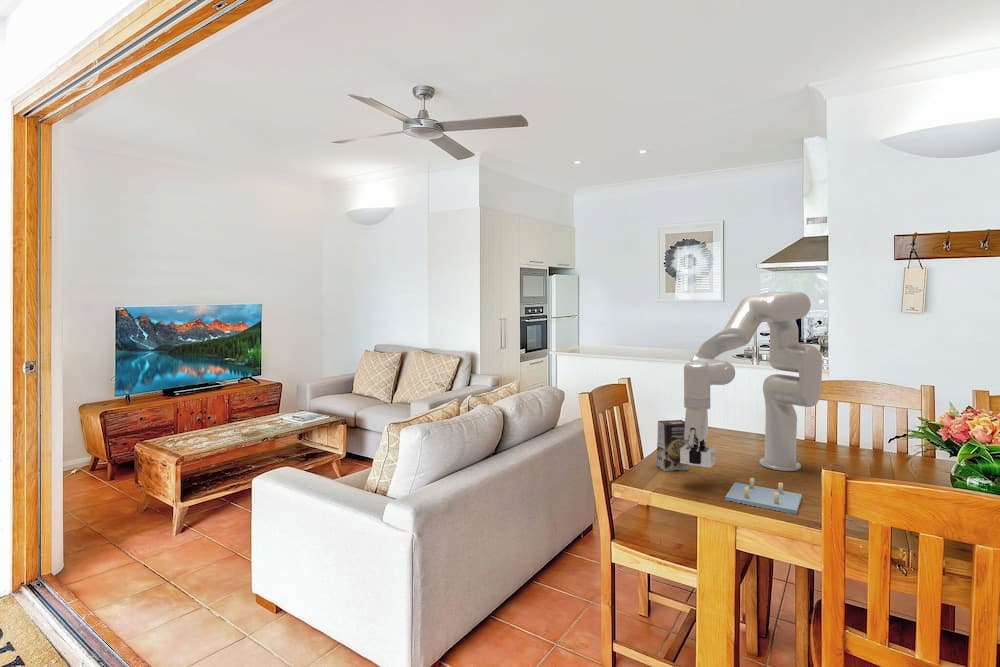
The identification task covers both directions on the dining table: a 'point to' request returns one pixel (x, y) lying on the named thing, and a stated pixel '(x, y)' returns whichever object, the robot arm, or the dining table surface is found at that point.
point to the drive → (706, 456)
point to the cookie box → (671, 445)
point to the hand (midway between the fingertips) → (697, 459)
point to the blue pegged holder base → (765, 497)
